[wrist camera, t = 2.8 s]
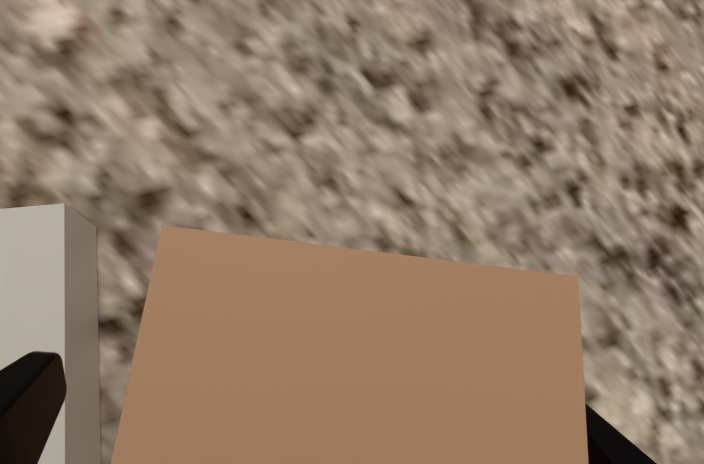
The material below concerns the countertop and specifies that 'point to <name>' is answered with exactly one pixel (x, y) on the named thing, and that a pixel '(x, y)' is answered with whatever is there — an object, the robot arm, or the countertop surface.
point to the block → (350, 359)
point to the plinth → (54, 316)
